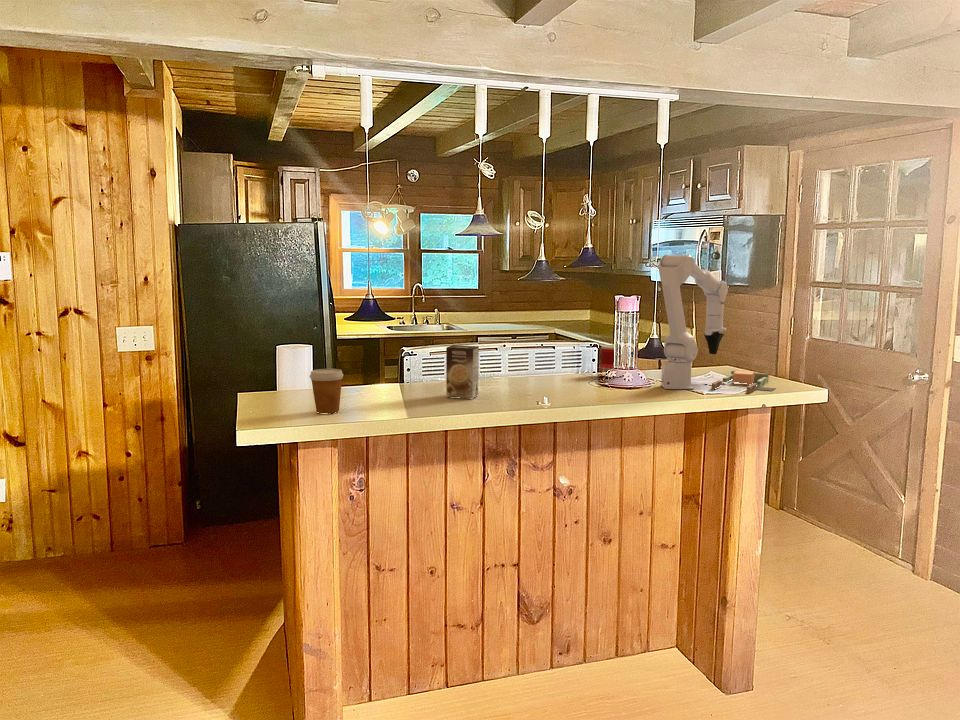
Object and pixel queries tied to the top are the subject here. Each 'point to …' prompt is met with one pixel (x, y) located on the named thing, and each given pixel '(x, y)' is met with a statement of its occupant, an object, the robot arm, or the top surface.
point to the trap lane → (760, 379)
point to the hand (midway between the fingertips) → (713, 353)
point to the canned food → (607, 357)
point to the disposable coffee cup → (327, 389)
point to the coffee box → (462, 371)
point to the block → (743, 377)
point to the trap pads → (765, 389)
